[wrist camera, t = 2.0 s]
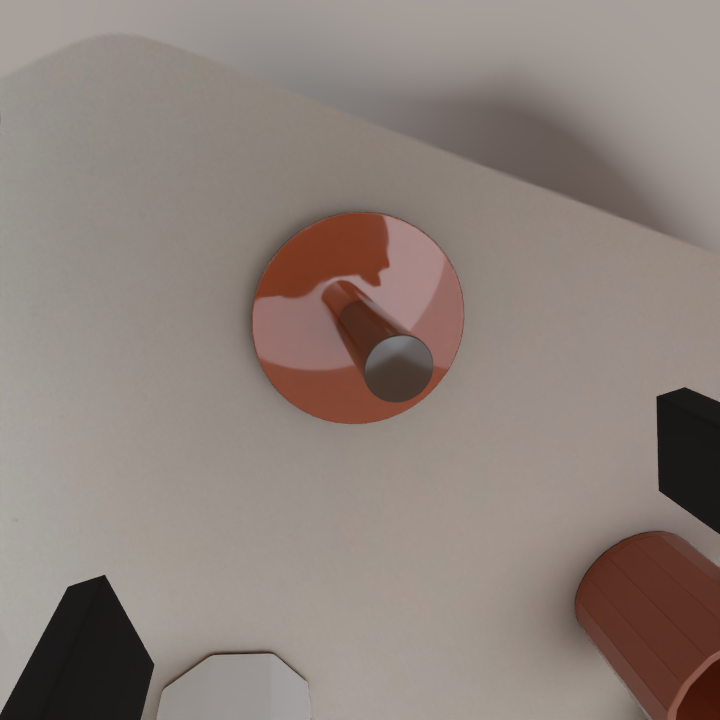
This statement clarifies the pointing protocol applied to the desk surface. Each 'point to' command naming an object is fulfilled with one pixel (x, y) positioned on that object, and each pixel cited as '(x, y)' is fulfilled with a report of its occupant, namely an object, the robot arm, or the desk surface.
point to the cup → (237, 691)
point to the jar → (657, 624)
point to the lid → (357, 317)
